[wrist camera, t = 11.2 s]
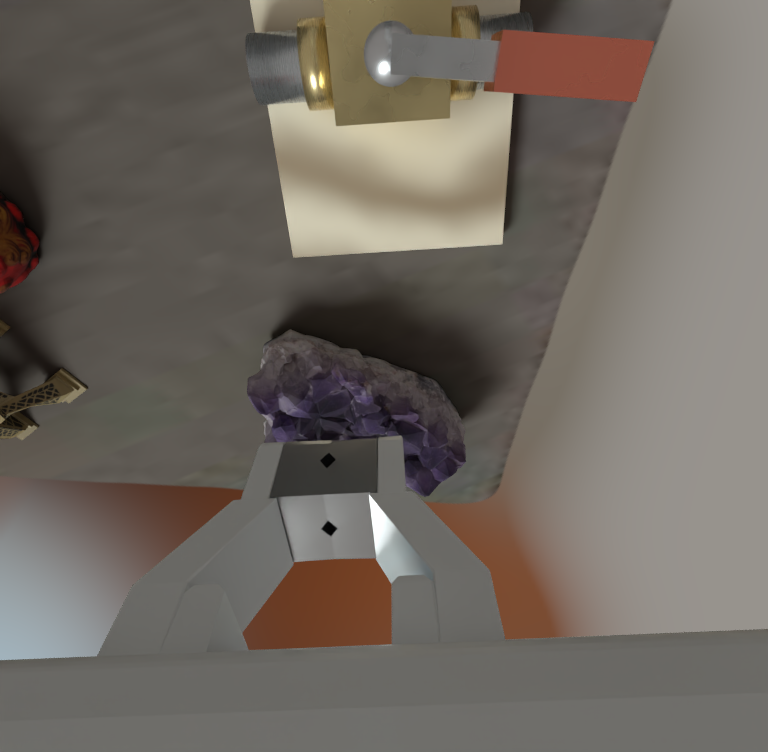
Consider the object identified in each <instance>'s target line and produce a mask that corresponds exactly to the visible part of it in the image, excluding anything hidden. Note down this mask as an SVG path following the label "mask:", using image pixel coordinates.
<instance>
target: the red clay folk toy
mask: <svg viewBox="0 0 768 752" xmlns="http://www.w3.org/2000/svg"><path fill="white" fill-rule="evenodd" d="M23 218H24V216H23V213H22V212H21V211H20V210H19V208H18V207H17V206H16V205H15V204H13V203H11V202H10V201H9V200H8V199H6V198H5V197H4V195H3V194H2V193H1V192H0V293H3V292H5V291H6V290H8V289H9V288H11V287H13V286H16V285H17V284H19V283H21V282H22V281H23V280H25V279H26V278H27V276H28V275H29V273H30V272H31V271H32V270H33V269H35V267H36V266H37V264H38V262H39V258H38V255H37V248H38V247H39V239H38V238H37V236H36V235H35V234H34V232H33V231H32V230H30V229H29V228H27V227H25V223H24V220H23Z"/></svg>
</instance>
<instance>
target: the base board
mask: <svg viewBox="0 0 768 752" xmlns="http://www.w3.org/2000/svg"><path fill="white" fill-rule="evenodd" d="M250 3H251V9H252V15H253V21H254V27H255V33H258V32H271V31H285V30H297V20H298V18H309V17H322V16H325V15H324V5H323V0H250ZM465 5H477V7H478V11H479V16H481V15H494V14H507V13H519V12H520V0H452V6H465ZM483 90H484V89H480V90H476V92H475V96H474V98H473V99H472V100H459V101H450V118H447V119H433V120H419V121H405V122H390V123H376V124H362V125H348V126H336V122H335V112H334V109H333V110H319V111H310V110H309V108H308V106H307V102H300V103H286V104H272V105H268V110H269V116H270V122H271V128H272V134H273V140H274V146H275V152H276V158H277V163H278V169H279V175H280V181H281V187H282V193H283V199H284V205H285V211H286V217H287V223H288V229H289V235H290V241H291V247H292V252H293V258H294V257H309V256H325V255H341V254H357V253H373V252H389V251H404V250H420V249H436V248H452V247H468V246H483V245H499V244H502V241H503V227H504V214H505V200H506V187H507V174H508V160H509V147H510V133H511V120H512V106H513V93H502V92H488V91H483Z"/></svg>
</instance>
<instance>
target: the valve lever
mask: <svg viewBox="0 0 768 752" xmlns="http://www.w3.org/2000/svg"><path fill="white" fill-rule="evenodd" d="M653 44H654V41H644V40H631V39H618V38H605V37H592V36H579V35H566V34H553V33H541V32H528V31H515V30H501V31H499V32H497V33H495V34H493V35H492V36H491V40H480V39H467V38H454V37H441V36H427V35H414V34H413V33H412V32H411V30H410V29H409V28H408V27H407V26H406V25H404V24H403V23H401V22H398V21H393V20H389V21H384V22H382V23H380V24H378V25H377V26H375V27H374V28H373V29H372V31H371V32H370V33H369V35H368V37H367V39H366V42H365V46H364V62H365V66H366V68H367V71H368V73H369V74H370V76H371V77H372V78H373V79H374V80H375V81H376V82H377V83H379V84H381V85H383V86H388V87H394V86H398V85H401V84H403V83H404V82H406V81H407V80H408V79H409V78H410V77H421V78H435V79H449V80H463V81H477V82H485V83H484V90H483V91H488V92H502V93H516V94H530V95H544V96H558V97H572V98H586V99H600V100H614V101H629V102H636V101H637V97H638V94H639V91H640V87H641V84H642V81H643V77H644V74H645V71H646V67H647V64H648V61H649V57H650V54H651V51H652V47H653Z"/></svg>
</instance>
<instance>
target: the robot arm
mask: <svg viewBox="0 0 768 752" xmlns="http://www.w3.org/2000/svg"><path fill="white" fill-rule="evenodd" d="M351 558H352V559H354V558H376V560H377V561H378V563H379V565H380V566H381V568H382V569H383V571H384V573H385V574H386V576H387V577H388V579H389V580H390V582H391V584H392V645H370V646H369V645H368V646H345V647H323V648H322V647H321V648H298V649H297V648H296V649H270V650H248V647H247V645H246V642H245V640H244V637H243V635H242V632H243V631H244V629H245V628H246V627H247V626H248V624H249V623H250V622H251V620H252V619H253V618H254V616H255V615H256V614H257V612H258V611H259V610H260V608H261V607H262V606H263V604H264V603H265V602H266V600H267V599H268V598H269V596H270V595H271V594H272V592H273V591H274V590H275V588H276V587H277V586H278V584H279V583H280V582H281V580H282V579H283V578H284V577H285V575H286V574H287V573H288V571H289V570H290V569H291V567H292V566H293V562H299V561H312V560H326V559H351ZM0 752H768V629H759V630H734V631H709V632H684V633H660V634H637V635H635V634H634V635H610V636H586V637H562V638H537V639H513V640H512V639H511V640H505V636H504V632H503V627H502V623H501V619H500V614H499V610H498V605H497V601H496V596H495V592H494V588H493V583H492V579H491V574H490V570H489V569H488V568H487V567H486V566H485V565H484V564H483V563H482V562H481V561H480V560H479V559H478V558H477V557H476V556H475V555H474V554H473V553H472V552H471V551H470V550H469V548H468V547H467V546H466V545H465V544H464V543H463V542H462V541H461V540H460V539H459V538H458V537H457V536H456V535H455V534H454V533H453V532H452V531H451V530H450V529H449V528H448V527H447V526H446V525H445V524H444V523H443V522H442V521H441V520H440V518H439V517H437V515H436V514H434V512H433V511H432V510H431V509H430V508H429V507H428V506H427V505H426V504H425V503H424V502H423V501H422V500H421V499H420V498H419V497H418V496H417V495H416V494H415V493H414V492H413V491H411V492H406V482H405V466H404V450H403V438H402V436H387V437H379V438H366V439H349V440H328V441H295V442H274V443H262V444H261V445H260V446H259V448H258V450H257V453H256V456H255V459H254V462H253V465H252V468H251V471H250V474H249V477H248V480H247V483H246V486H245V489H244V492H243V494H242V497H241V500H234V501H232V502H231V503H230V504H229V505H227V506H226V507H225V508H224V509H223V510H221V511H220V512H219V513H218V514H217V515H215V516H214V517H213V518H212V519H211V520H210V521H208V522H207V523H206V524H205V525H204V526H203V527H201V528H200V529H199V530H198V531H196V532H195V533H194V534H193V535H192V536H191V537H189V538H188V539H187V540H186V541H185V542H183V543H182V544H181V545H180V546H179V547H177V548H176V549H175V550H174V551H173V552H171V553H170V554H169V555H168V556H167V557H166V558H164V559H163V560H162V561H161V562H160V563H158V564H157V565H156V566H155V567H154V568H153V569H151V570H150V571H149V572H148V573H147V574H145V575H144V576H143V577H142V578H141V579H139V580H138V581H137V582H136V583H135V584H133V585H132V587H131V589H130V591H129V593H128V595H127V597H126V599H125V601H124V603H123V605H122V607H121V609H120V611H119V613H118V615H117V617H116V619H115V621H114V623H113V625H112V627H111V629H110V631H109V633H108V635H107V637H106V639H105V641H104V643H103V645H102V648H101V649H100V651H99V654H98V655H97V656H96V657H71V658H48V659H47V658H45V659H22V660H0Z"/></svg>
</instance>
